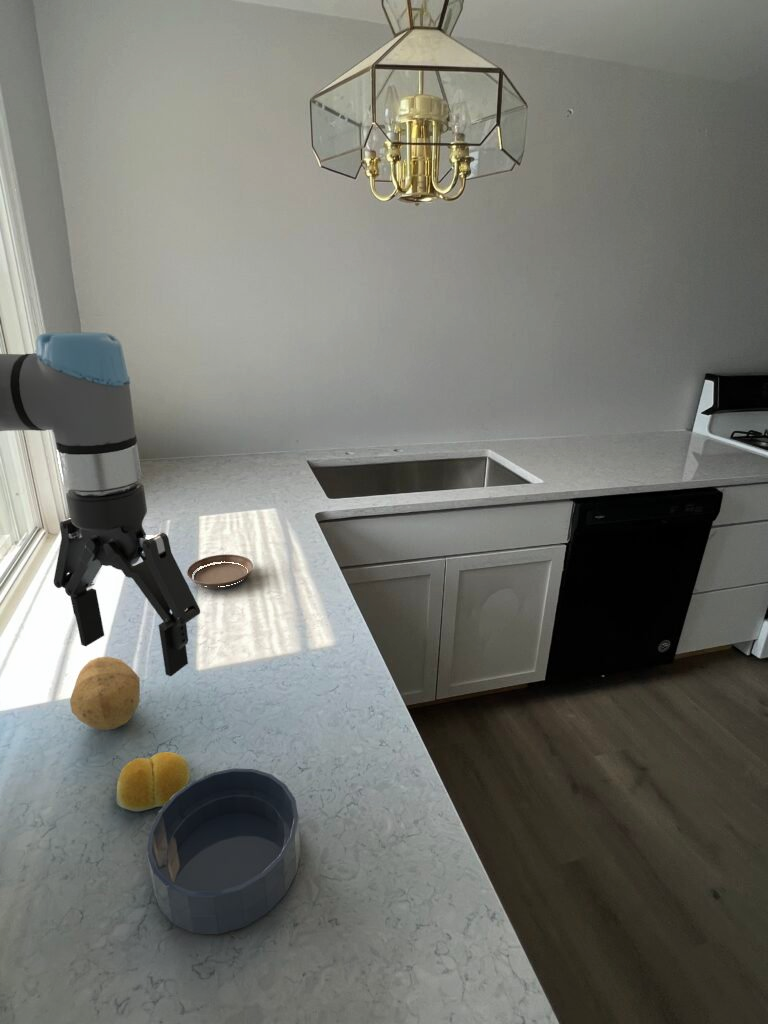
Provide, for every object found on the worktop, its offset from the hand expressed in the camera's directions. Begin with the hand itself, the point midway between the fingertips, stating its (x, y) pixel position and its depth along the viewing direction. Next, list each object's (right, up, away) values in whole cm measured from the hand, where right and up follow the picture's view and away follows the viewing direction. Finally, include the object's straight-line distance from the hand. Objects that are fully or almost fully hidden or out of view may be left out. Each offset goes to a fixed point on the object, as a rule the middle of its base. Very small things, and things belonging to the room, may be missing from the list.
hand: (133, 654), depth 67 cm
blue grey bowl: (+12, -23, -3) cm, 27 cm away
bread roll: (-1, -20, +7) cm, 21 cm away
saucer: (-8, +1, +63) cm, 64 cm away
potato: (-12, -15, +19) cm, 27 cm away
